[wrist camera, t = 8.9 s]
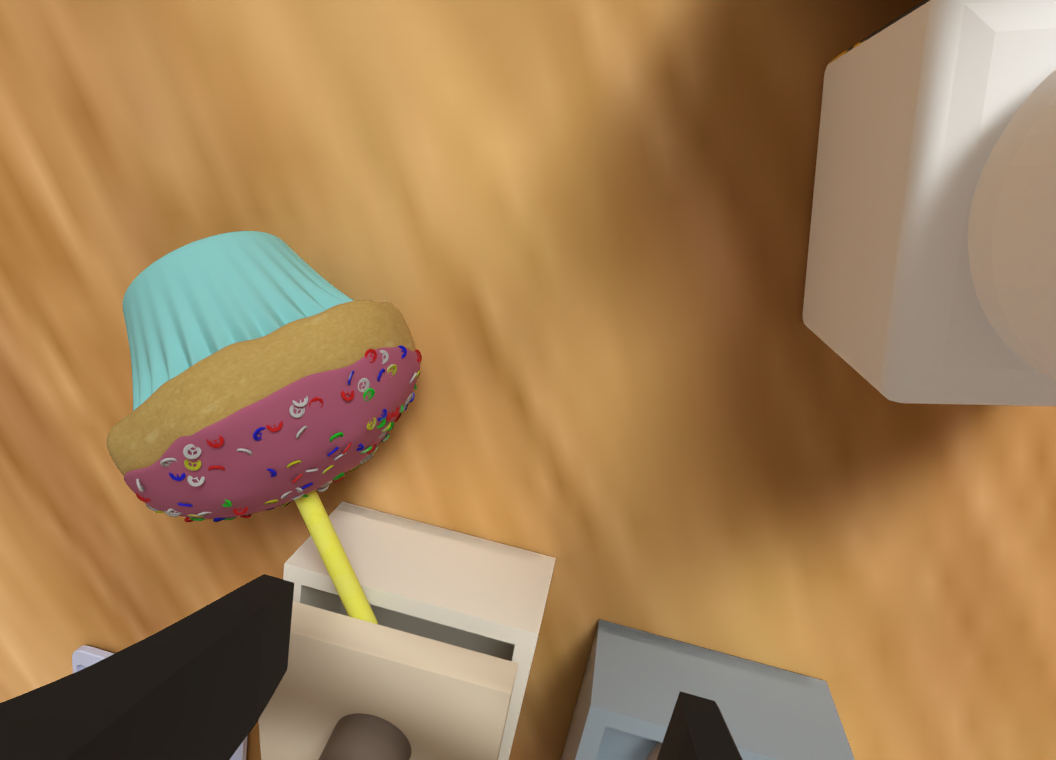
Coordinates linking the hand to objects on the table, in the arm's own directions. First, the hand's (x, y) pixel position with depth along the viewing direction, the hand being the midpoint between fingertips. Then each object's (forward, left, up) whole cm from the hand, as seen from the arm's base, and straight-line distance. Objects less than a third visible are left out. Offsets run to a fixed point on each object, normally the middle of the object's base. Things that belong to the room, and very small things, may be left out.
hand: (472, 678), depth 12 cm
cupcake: (+4, +11, -8) cm, 14 cm away
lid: (-8, +3, -6) cm, 10 cm away
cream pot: (-8, +3, -10) cm, 13 cm away
